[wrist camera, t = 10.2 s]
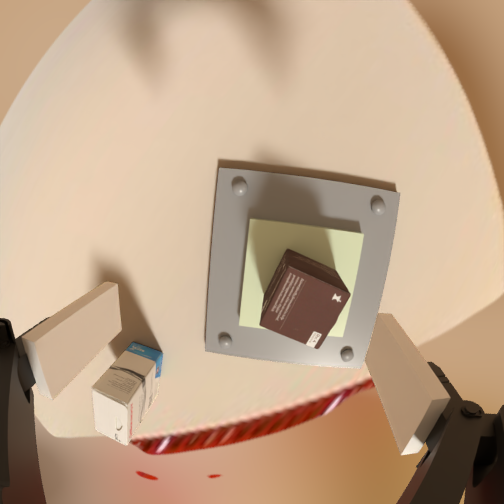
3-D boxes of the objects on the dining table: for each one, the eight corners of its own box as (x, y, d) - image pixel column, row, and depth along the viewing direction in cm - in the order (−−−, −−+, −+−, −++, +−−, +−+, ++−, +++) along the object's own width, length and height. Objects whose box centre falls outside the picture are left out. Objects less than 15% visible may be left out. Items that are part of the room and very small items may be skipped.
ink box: (132, 339, 38) (89, 386, 26) (164, 352, 37) (128, 405, 26) (129, 383, 40) (93, 431, 28) (158, 395, 39) (127, 447, 28)
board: (220, 168, 32) (216, 166, 30) (397, 192, 30) (404, 193, 28) (206, 347, 37) (202, 356, 34) (359, 364, 35) (363, 373, 33)
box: (287, 246, 31) (288, 263, 24) (338, 270, 31) (353, 293, 23) (262, 296, 32) (256, 326, 25) (311, 318, 32) (318, 351, 25)
